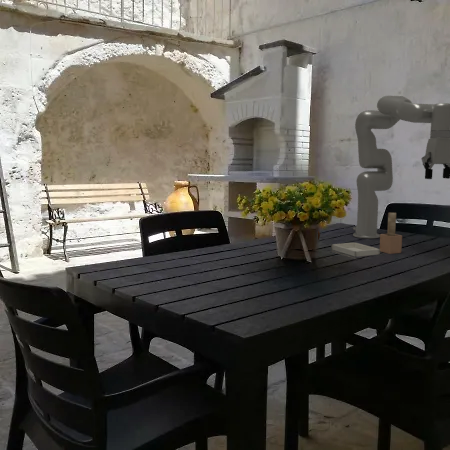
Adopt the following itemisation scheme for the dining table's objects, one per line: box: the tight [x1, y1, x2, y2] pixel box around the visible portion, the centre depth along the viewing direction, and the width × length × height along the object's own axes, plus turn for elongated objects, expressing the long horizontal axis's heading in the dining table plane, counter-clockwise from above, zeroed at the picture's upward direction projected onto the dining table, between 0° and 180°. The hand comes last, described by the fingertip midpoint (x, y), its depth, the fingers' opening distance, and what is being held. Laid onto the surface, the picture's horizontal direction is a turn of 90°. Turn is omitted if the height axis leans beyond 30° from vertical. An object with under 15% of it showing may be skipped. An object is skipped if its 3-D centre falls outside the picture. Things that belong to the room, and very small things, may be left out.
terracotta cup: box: [379, 233, 403, 255], centre depth 211 cm, size 6×6×8 cm
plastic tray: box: [331, 242, 381, 260], centre depth 211 cm, size 16×12×3 cm
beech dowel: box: [386, 212, 397, 236], centre depth 210 cm, size 3×3×16 cm
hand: (437, 178), depth 207 cm, fingers open, 9 cm apart
